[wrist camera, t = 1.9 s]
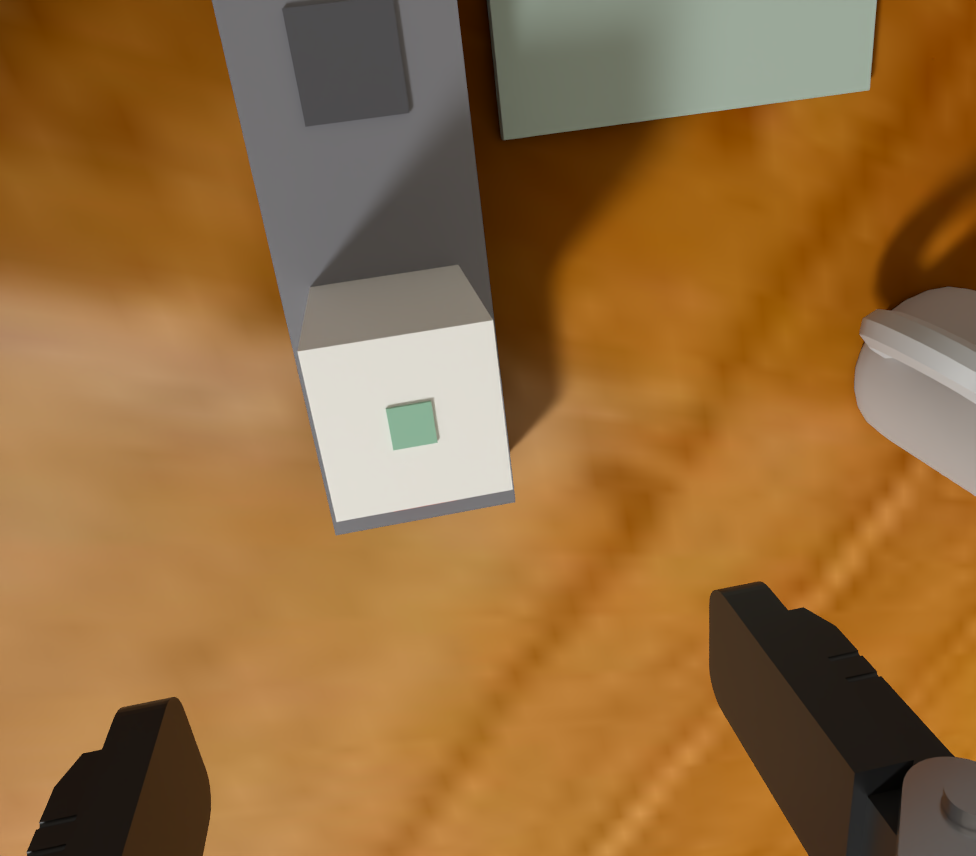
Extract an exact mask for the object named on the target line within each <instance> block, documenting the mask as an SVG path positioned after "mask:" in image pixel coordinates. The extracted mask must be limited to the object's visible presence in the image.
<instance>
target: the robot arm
mask: <svg viewBox="0 0 976 856" xmlns="http://www.w3.org/2000/svg"><path fill="white" fill-rule="evenodd" d="M709 670H710V677H711V682H712V687H713V690H714V693H715V696H716V699H717V702H718V704H719V706H720V708H721V710H722V712H723V713H724V715H725V717H726V718H727V720H728V722H729V723H730V725H731V727H732V728H733V730H734V732H735V733H736V735H737V737H738V738H739V740H740V742H741V743H742V745H743V747H744V748H745V750H746V752H747V753H748V755H749V757H750V758H751V760H752V762H753V763H754V765H755V767H756V768H757V770H758V772H759V773H760V775H761V777H762V778H763V780H764V782H765V783H766V785H767V787H768V788H769V790H770V792H771V793H772V795H773V797H774V798H775V800H776V802H777V803H778V805H779V807H780V808H781V810H782V812H783V813H784V815H785V817H786V818H787V820H788V822H789V823H790V825H791V827H792V828H793V830H794V832H795V833H796V835H797V837H798V838H799V840H800V842H801V843H802V845H803V847H804V848H805V850H806V852H807V853H808V855H809V856H976V762H975V761H972V760H968V759H963V758H958V757H954V756H953V755H952V754H951V753H950V751H949V750H948V749H947V748H946V747H945V746H944V745H943V744H942V743H941V742H940V740H939V739H938V738H937V737H936V736H935V735H934V734H933V733H932V732H931V731H930V729H929V728H928V727H927V726H926V725H925V724H924V723H923V722H922V721H921V719H920V718H919V717H918V716H917V715H916V714H915V713H914V712H913V711H912V710H911V708H910V707H909V706H908V705H907V704H906V703H905V702H904V701H903V700H902V699H901V697H900V696H899V695H898V694H897V693H896V692H895V691H894V690H893V689H892V688H891V686H890V685H889V684H888V683H887V682H886V681H885V680H884V679H883V678H882V677H878V675H877V671H876V670H875V669H874V668H873V667H872V666H871V664H870V663H869V662H868V661H867V660H866V659H865V658H864V657H863V656H860V655H859V653H858V650H857V649H856V648H855V647H854V646H853V645H852V643H851V642H850V641H849V640H848V639H847V638H846V637H845V636H844V635H843V634H842V632H841V631H840V630H839V629H838V628H837V627H836V626H835V625H833V624H831V623H830V622H828V621H826V620H824V619H823V618H821V617H819V616H817V615H816V614H814V613H812V612H811V611H809V610H807V609H805V608H804V607H803V608H798V609H794V610H789V611H788V610H787V609H786V607H785V606H784V605H783V604H782V603H781V601H780V600H779V599H778V598H777V597H776V596H775V594H774V593H773V592H772V591H771V590H770V588H769V587H768V586H767V585H766V584H764V583H763V582H753V583H748V584H743V585H738V586H733V587H728V588H723V589H718V590H714V591H713V592H712V593H711V596H710V603H709ZM210 812H211V794H210V785H209V779H208V775H207V772H206V769H205V766H204V763H203V760H202V758H201V755H200V752H199V749H198V747H197V744H196V741H195V738H194V736H193V733H192V730H191V727H190V725H189V722H188V719H187V716H186V714H185V711H184V708H183V706H182V704H181V702H180V701H179V699H178V698H176V697H171V698H166V699H161V700H156V701H151V702H146V703H141V704H136V705H131V706H127V707H122V708H120V709H119V710H118V711H117V713H116V715H115V717H114V719H113V722H112V724H111V727H110V730H109V732H108V735H107V738H106V740H105V743H104V746H103V748H102V750H98V751H93V752H88V753H83V754H82V755H81V756H80V757H79V759H78V760H77V761H76V762H75V763H74V765H73V766H72V767H71V768H70V769H69V770H68V772H67V773H66V774H65V775H64V776H63V778H62V779H61V780H60V781H59V782H58V783H57V785H56V786H55V787H54V789H53V791H52V794H51V796H50V799H49V801H48V803H47V806H46V808H45V810H44V813H43V815H42V817H41V820H40V822H39V823H40V828H39V829H38V830H36V831H35V834H34V836H33V839H32V841H31V843H30V846H29V848H28V850H27V856H203V851H204V846H205V841H206V836H207V831H208V826H209V820H210Z"/></svg>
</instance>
